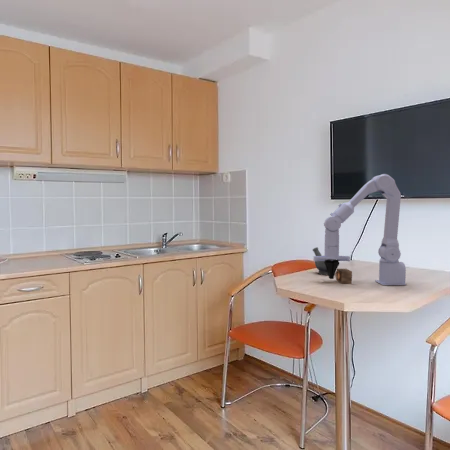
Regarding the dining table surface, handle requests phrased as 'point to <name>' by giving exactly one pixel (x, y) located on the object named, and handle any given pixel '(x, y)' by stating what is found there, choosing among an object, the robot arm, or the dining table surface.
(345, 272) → the block
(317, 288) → the dining table surface
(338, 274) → the pin
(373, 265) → the dining table surface
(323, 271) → the mortar and pestle
